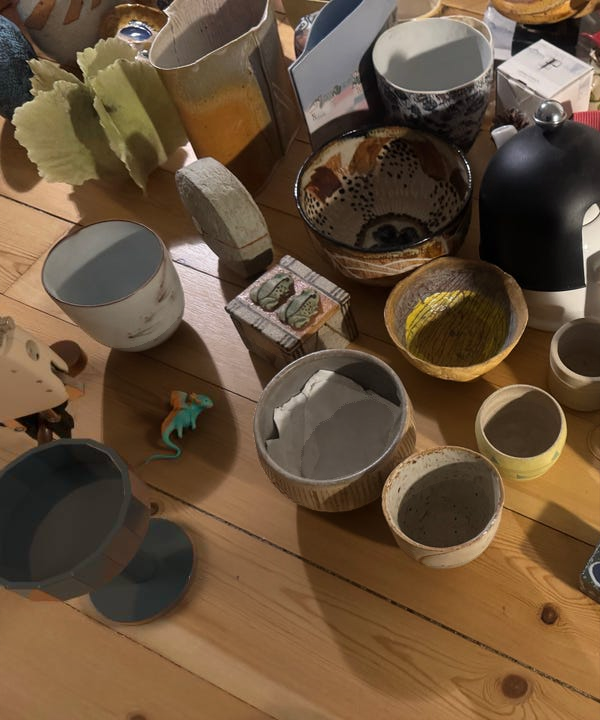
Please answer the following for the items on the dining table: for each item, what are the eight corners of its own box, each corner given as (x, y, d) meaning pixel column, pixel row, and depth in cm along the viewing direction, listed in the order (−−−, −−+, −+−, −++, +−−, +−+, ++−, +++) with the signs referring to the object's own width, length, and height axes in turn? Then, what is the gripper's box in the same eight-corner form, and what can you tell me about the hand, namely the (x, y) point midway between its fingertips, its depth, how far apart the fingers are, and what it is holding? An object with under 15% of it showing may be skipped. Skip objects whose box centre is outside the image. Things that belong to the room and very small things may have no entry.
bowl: (59, 571, 76) (-59, 509, 60) (167, 488, 80) (84, 410, 65) (120, 666, 70) (9, 625, 55) (232, 571, 75) (159, 509, 59)
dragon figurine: (216, 458, 81) (214, 388, 82) (144, 462, 78) (144, 390, 79) (212, 461, 87) (211, 396, 88) (146, 465, 84) (145, 398, 85)
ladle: (49, 354, 88) (18, 324, 83) (87, 344, 89) (59, 313, 83) (53, 485, 79) (18, 461, 73) (95, 472, 80) (65, 447, 74)
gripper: (43, 287, 67) (127, 385, 82) (-137, 333, 64) (-15, 425, 80) (45, 350, 63) (133, 440, 79) (-147, 402, 60) (-16, 484, 76)
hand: (58, 432), depth 79 cm, fingers closed on ladle, 1 cm apart
